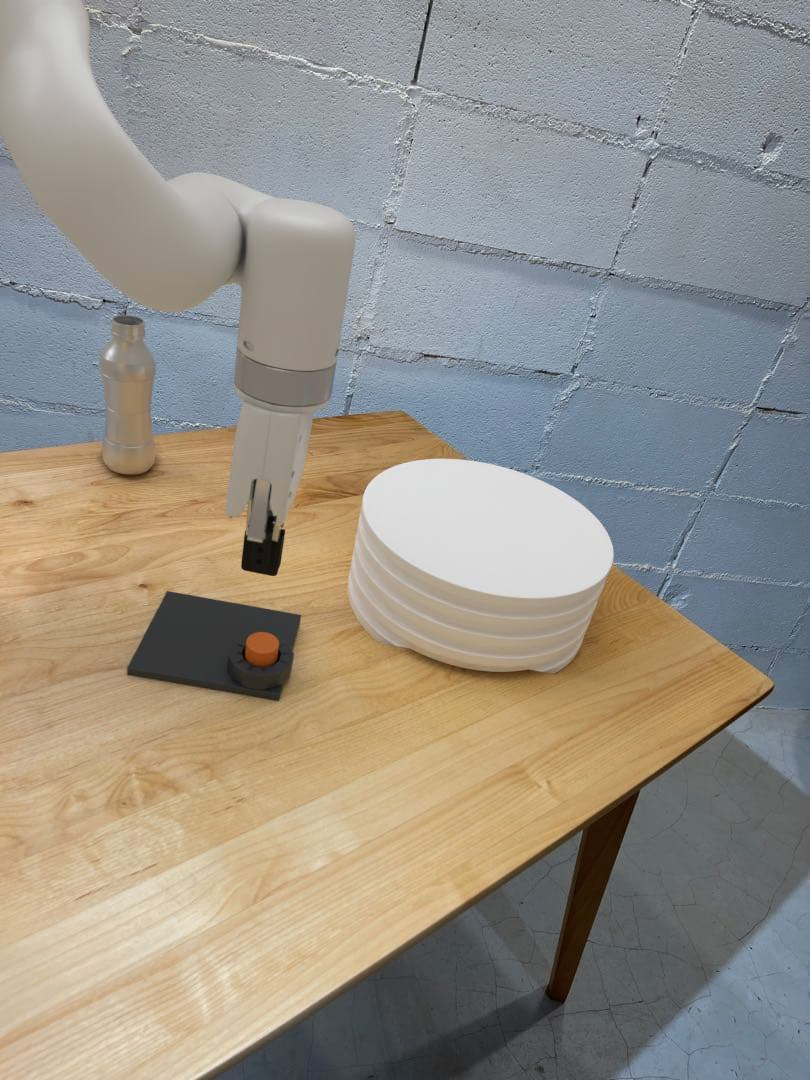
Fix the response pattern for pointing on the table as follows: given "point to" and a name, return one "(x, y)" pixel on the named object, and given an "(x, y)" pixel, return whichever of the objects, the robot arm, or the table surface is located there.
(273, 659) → the button
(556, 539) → the plate stack
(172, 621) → the scale
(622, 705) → the table surface
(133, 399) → the plastic bottle
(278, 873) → the table surface
